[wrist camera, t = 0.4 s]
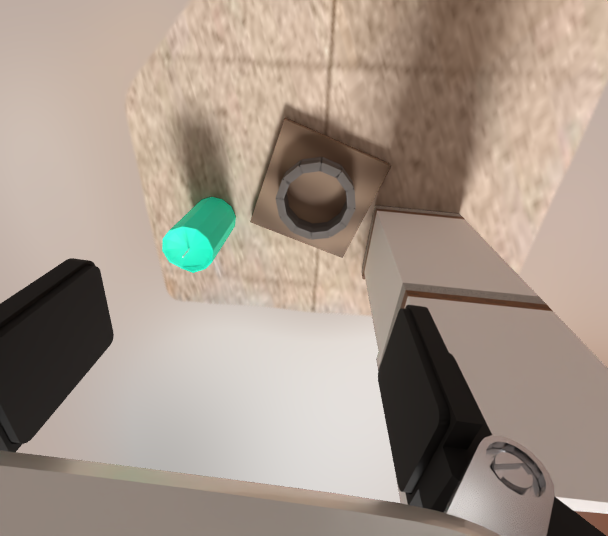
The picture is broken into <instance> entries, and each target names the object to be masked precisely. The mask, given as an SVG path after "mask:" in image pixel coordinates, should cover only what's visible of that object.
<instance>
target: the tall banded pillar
mask: <svg viewBox="0 0 608 536" xmlns="http://www.w3.org/2000/svg"><path fill="white" fill-rule="evenodd" d="M362 277H363V279H366V285H367V290H368V296H369V301H370V307H371V312H372V318H373V323H374V329H375V334H376V340H377V345H378V351H379V352H378V355H377V359H376V360H377V366H378V371H379V368H380V365H381V362H382V359H383V356H384V353H385V350H386V347H387V344H388V341H389V338H390V335H391V332H392V329H393V326H394V323H395V320H396V317H397V314H398V312H399V310H400V309H401V308H404V309H405V307H406V306H407V305H408V304H409V305H416V306H423V307H427V308H428V310H429V312H430V314H431V316H432V318H433V320H434V322H435V324H436V326H437V328H438V331H439V333H440V335H441V337H442V339H443V341H444V343H445V345H446V347H447V349H448V352H449V353H451V354H452V355H453V356H454V358H455V360H456V362H457V364H458V366H459V368H460V370H461V372H462V374H463V376H464V378H465V380H466V382H467V384H468V386H469V388H470V390H471V392H472V394H473V396H474V398H475V400H476V402H477V405H478V407H479V409H480V411H481V413H482V415H483V417H484V419H485V421H486V423H487V425H488V427H489V429H490V431H491V433H492V435H495V436H503V437H506V438H509V439H512V440H514V441H516V442H518V443H519V444H521V445H523V446H524V447H526V448H527V449H528V450H529V451H531V452H532V453H533V454H534V455H535V456H536V457H537V458H538V459H539V460H540V461H541V462H542V463H543V465H544V466H545V468H546V469H547V471H548V472H549V474H550V476H551V478H552V481H553V484H554V492H555V497H556V498H558V499H559V500H560V501H561V502H563V503H564V504H565V505H567V506H568V507H569V508H571V509H572V510H573V511H586V512H596V513H605V514H608V368H607V367H606V366H605V365H604V364H603V363H602V362H601V361H600V360H599V359H598V358H597V356H596V355H594V354H593V352H592V351H591V350H590V349H589V348H588V347H587V346H586V345H585V344H584V343H583V342H582V341H581V340H580V339H579V338H578V337H577V336H576V335H575V334H574V333H573V331H572V330H571V329H570V328H569V327H568V326H567V325H566V324H565V323H564V322H563V321H562V320H561V319H560V318H559V317H558V316H557V315H556V314H555V313H554V312H553V311H552V310H551V309H550V308H549V307H548V305H547V304H546V303H545V302H544V301H543V300H542V299H541V298H540V297H539V296H538V295H537V294H536V293H535V292H534V291H533V290H532V289H531V288H530V287H529V286H528V285H527V284H526V283H525V282H524V280H523V279H522V278H521V277H520V276H519V275H518V274H517V273H516V272H515V271H514V270H513V269H512V268H511V267H510V266H509V265H508V264H507V263H506V262H505V261H504V260H503V259H502V258H501V257H500V256H499V254H498V253H497V252H496V251H495V250H494V249H493V248H492V247H491V246H490V245H489V244H488V243H487V242H486V241H485V240H484V239H483V238H482V237H481V236H480V235H479V234H478V233H477V232H476V231H475V230H474V228H473V227H472V226H471V225H470V224H469V223H468V222H467V221H466V220H465V219H464V218H463V217H462V216H461V215H460V214H458V213H448V212H437V211H427V210H417V209H407V208H397V207H387V206H377V205H375V208H374V213H373V218H372V223H371V228H370V233H369V238H368V243H367V248H366V253H365V258H364V263H363V267H362ZM397 484H398V483H397ZM398 490H399V487H398ZM399 496H400V502H401V503H402V504H406V505H408V503H407V498H406V494H405V492H401V491H400V490H399Z"/></svg>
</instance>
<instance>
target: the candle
mask: <svg viewBox="0 0 608 536" xmlns="http://www.w3.org/2000/svg"><path fill="white" fill-rule="evenodd" d="M235 220H236V216H235V214H234V211H233V209H232V207H231V206H230V205H229V204H228V203H226V202H225V201H224V200H223V199H219V198H215V197H209V198H205V199H202V200H201V201H200V202H199V203H198V204H196V205H195V206H194V207H193V208H192V209H191V210H190V211H189V212H188V213H187V214H186V215H185V216H184V217H183V218H182V219H181V220H180V221H179V222H178V223H177V224H176V225H175V226H173V227H172V228H171V229H170V230H169V231H168V233H167V234H166V235H165V237H164V238H163V249H162V251H163V253H164V254H165V256H166V257H167V259H168V261H169V262H170V263H172V264H174V265H176V266H178V267H180V268H182V269H184V270H187V271H190V272H192V273H194V272H197V271H201V270H204V269H206V268H207V267H208V266H209V265H210V264H211V263H212V262H213V260H214V258H215V257H216V255H217V254H218V252H219V250H220V249H221V247H222V246H223V244H224V243H225V241H226V239H227V238H228V236H229V235H230V233H231V232H232V230H233V228H234V227H235Z"/></svg>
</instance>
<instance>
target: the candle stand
mask: <svg viewBox="0 0 608 536" xmlns="http://www.w3.org/2000/svg"><path fill="white" fill-rule="evenodd" d="M390 167H391V165H390V164H389V163H387V162H385V161H383V160H380V159H378V158H376V157H374V156H371V155H369V154H367V153H364V152H362V151H360V150H358V149H355V148H353V147H351V146H349V145H346V144H344V143H342V142H340V141H337V140H335V139H333V138H330V137H328V136H326V135H324V134H321V133H319V132H317V131H315V130H312V129H310V128H308V127H306V126H303V125H301V124H299V123H296V122H294V121H292V120H290V119H287V118H285V119H284V122H283V125H282V128H281V131H280V134H279V137H278V140H277V143H276V146H275V149H274V152H273V155H272V158H271V161H270V164H269V167H268V170H267V173H266V176H265V179H264V182H263V185H262V188H261V191H260V194H259V197H258V200H257V203H256V206H255V209H254V212H253V215H252V218H251V221H250V222H251V223H254V224H256V225H259V226H262V227H264V228H267V229H269V230H272V231H275V232H277V233H280V234H282V235H285V236H287V237H290V238H293V239H295V240H298V241H300V242H303V243H305V244H308V245H311V246H313V247H316V248H318V249H321V250H323V251H326V252H329V253H331V254H334V255H336V256H339V257H342V258H343V256H344V254H345V252H346V250H347V248H348V246H349V244H350V243H351V241H352V239H353V237H354V235H355V233H356V231H357V229H358V228H359V226H360V224H361V222H362V220H363V218H364V216H365V214H366V213H367V211H368V209H369V207H370V205H371V203H372V201H373V199H374V197H375V196H376V194H377V192H378V190H379V188H380V186H381V184H382V182H383V181H384V179H385V177H386V175H387V173H388V171H389V169H390Z"/></svg>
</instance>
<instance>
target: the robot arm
mask: <svg viewBox="0 0 608 536" xmlns="http://www.w3.org/2000/svg"><path fill="white" fill-rule="evenodd" d="M112 340H113V329H112V324H111V319H110V315H109V310H108V305H107V300H106V296H105V291H104V286H103V282H102V277H101V273H100V269H99V268H98V267H96V266H95V264H94V263H93V262H92V261H88V260H80V259H68V260H66V261H64V262H63V263H61V264H60V265H58V266H57V267H55V268H54V269H52V270H51V271H49V272H48V273H46V274H45V275H43V276H42V277H40V278H39V279H37V280H36V281H34V282H33V283H31V284H30V285H28V286H27V287H25V288H24V289H22V290H20V291H19V292H18V293H16V294H15V295H13V296H11V297H10V298H9V299H7V300H5V301H4V302H2V303H1V304H0V536H606V535H604V534H603V533H602V532H601V531H599V530H598V529H597V528H595V527H594V526H593V525H591V524H590V523H589V522H587V521H586V520H585V519H584V518H582V517H581V516H580V515H578V514H577V513H576V512H574V511H573V510H572V509H571V508H569V507H568V506H567V505H565V504H564V503H563V502H561V501H560V500H559V499H558V498H556V497H555V492H554V484H553V481H552V478H551V476H550V474H549V472H548V471H547V469H546V468H545V466H544V465H543V463H542V462H541V461H540V460H539V459H538V458H537V457H536V456H535V455H534V454H533V453H532V452H531V451H529V450H528V449H527V448H526V447H524V446H523V445H521V444H519V443H518V442H516V441H514V440H512V439H509V438H506V437H503V436H495V435H492V433H491V431H490V429H489V427H488V425H487V423H486V421H485V419H484V417H483V415H482V413H481V411H480V409H479V407H478V405H477V402H476V400H475V398H474V396H473V394H472V392H471V390H470V388H469V386H468V384H467V382H466V380H465V378H464V376H463V374H462V372H461V370H460V368H459V366H458V364H457V362H456V360H455V358H454V356H453V355H452V354H451V353H449V352H448V349H447V347H446V345H445V343H444V341H443V339H442V337H441V335H440V333H439V331H438V328H437V326H436V324H435V322H434V320H433V318H432V316H431V314H430V312H429V310H428V308H427V307H423V306H416V305H409V304H408V305H407V306H406V307H405V309H404V308H401V309H400V310H399V312H398V314H397V317H396V320H395V323H394V326H393V329H392V332H391V335H390V338H389V341H388V344H387V347H386V350H385V353H384V356H383V359H382V362H381V365H380V368H379V372H378V382H379V387H380V392H381V398H382V403H383V408H384V414H385V419H386V424H387V430H388V435H389V440H390V445H391V451H392V456H393V462H394V467H395V472H396V478H397V483H398V487H399V490H400V491H401V492H405V494H406V498H407V503H408V505H406V504H402V503H395V502H388V501H382V500H375V499H369V498H362V497H355V496H349V495H342V494H336V493H329V492H321V491H313V490H306V489H299V488H291V487H284V486H276V485H268V484H261V483H254V482H246V481H238V480H231V479H223V478H216V477H208V476H200V475H192V474H185V473H177V472H169V471H161V470H153V469H146V468H137V467H129V466H122V465H114V464H106V463H98V462H90V461H82V460H74V459H65V458H57V457H49V456H41V455H32V454H23V453H16V451H17V450H18V448H19V447H20V446H21V445H22V444H24V443H27V442H28V441H30V440H31V439H32V438H33V437H34V436H35V434H36V433H37V432H38V431H39V430H40V428H41V427H42V426H43V425H44V424H45V422H46V421H47V420H48V419H49V418H50V416H51V415H52V414H53V413H54V412H55V410H56V409H57V408H58V407H59V406H60V404H61V403H62V402H63V401H64V400H65V399H66V397H67V396H68V395H69V394H70V393H71V391H72V390H73V389H74V388H75V387H76V385H77V384H78V383H79V381H80V380H81V379H82V378H83V377H84V376H85V375H86V373H87V372H88V371H89V370H90V368H91V367H92V366H93V365H94V364H95V363H96V361H97V360H98V359H99V358H100V357H101V355H102V354H103V353H104V352H105V351H106V349H107V348H108V347H109V346H110V344H111V343H112Z"/></svg>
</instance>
